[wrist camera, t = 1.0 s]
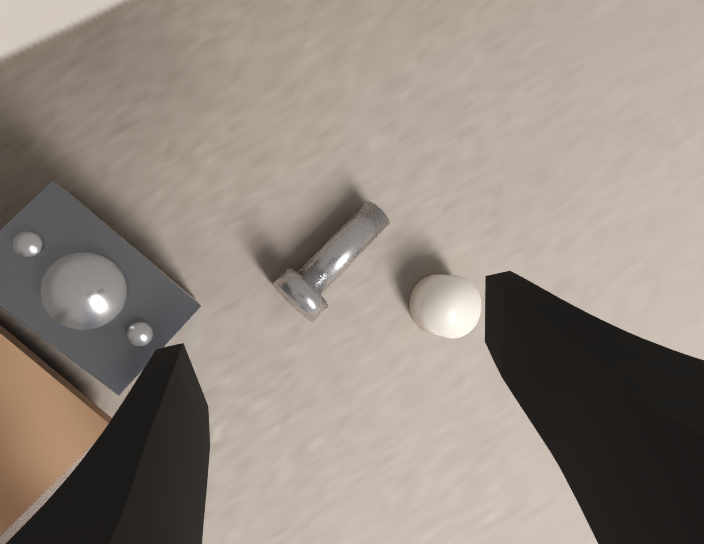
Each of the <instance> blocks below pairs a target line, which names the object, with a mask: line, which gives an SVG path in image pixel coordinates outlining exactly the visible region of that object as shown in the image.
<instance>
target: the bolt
mask: <svg viewBox="0 0 704 544" xmlns="http://www.w3.org/2000/svg"><path fill="white" fill-rule="evenodd" d="M388 225H389V219H388V217H387V216H386V214H385V213H384V212H383V211H382V210H381V209H380V208H379V207H378V206H377V205H375V204H374V203H372V202H366V203H365V204H364V205H363V206H362V207H361V208H360V209H359V210H358V211H357V212H356V213H355V214H354V215H353V216H352V217H351V218H350V219H349V220H348V221H347V222H346V223H345V224H344V225H343V226H342V227H341V228H340V229H339V230H338V231H337V232H336V233H335V234H334V235H333V236H332V237H331V238H330V239H329V240H328V241H327V242H326V243H325V244H324V245H323V246H322V247H321V248H320V249H319V250H318V251H317V252H316V253H315V254H314V255H313V256H312V257H311V258H310V259H309V260H308V261H307V262H306V263H305V264H304V265H303V266H302V267H301V268H300V269H299V270H298V271H297V272H296V271H294V270H293V269H291V268H288V269H287V270H286V271H285V272H284V273H283V274H282V275H281V276H280V277H279V278H278V279H277V280H276V281H275V282H274V283H273V285H274V286H275V288H276V289H277V290H278V291H279V293H280V294H281V295H282V296H283V297H284V298H285V299H286V300H287V301H288V302H289V303H290V304H291V305H292V306H293V307H294V308H295V309H296V310H297V311H299V312H300V313H301V314H302V315H303V316H304V317H306V318H307V319H308V320H310V321H311V322H314V321H315V320H316V319H317V318H318V317H319V315H320V314H321V313H322V312H323V311H324V310H325V309H326V308H327V307H328V304H327V302H326V301H325V300H324V298H323V297H322V296H321V294H322V293H323V292H324V291H325V290H326V289H327V288H328V287H329V286H330V285H331V284H332V283H333V282H334V281H335V280H336V279H337V278H338V277H339V276H340V275H341V274H342V273H343V272H344V271H345V270H346V268H347V267H348V266H349V265H350V264H351V263H352V262H353V261H354V260H355V259H356V258H357V257H358V256H359V255H360V254H361V253H362V252H363V251H364V250H365V249H366V248H367V247H368V246H369V245H370V244H371V243H372V242H373V241H374V239H375V238H376V237H377V236H378V235H379V234H380V233H381V232H382V231H383V230H384V229H385V228H386V227H387V226H388Z"/></svg>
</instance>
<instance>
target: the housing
mask: <svg viewBox="0 0 704 544" xmlns="http://www.w3.org/2000/svg"><path fill="white" fill-rule="evenodd" d="M0 306H1V307H2V308H3V309H5V310H6V311H7V312H9V313H10V314H11V315H13V316H14V317H15V318H17V319H18V320H19V321H21V322H22V323H23V324H25V325H26V326H27V327H29V328H30V329H31V330H33V331H34V332H35V333H37V334H38V335H39V336H41V337H42V338H43V339H45V340H46V341H47V342H49V343H50V344H51V345H53V346H54V347H55V348H56V349H58V350H59V351H60V352H62V353H63V354H64V355H66V356H67V357H68V358H70V359H71V360H72V361H74V362H75V363H76V364H78V365H79V366H80V367H82V368H83V369H84V370H86V371H87V372H88V373H90V374H91V375H92V376H94V377H95V378H96V379H98V380H99V381H100V382H102V383H103V384H104V385H106V386H107V387H108V388H110V389H111V390H112V391H114V392H115V393H116V394H118V395H120V394H121V393H122V392H123V390H124V389H125V388H126V387H127V386H128V385H129V384H130V383H131V382H132V381H133V380H134V379H135V377H136V376H137V375H138V374H139V373H140V372H141V371H142V370H143V369H144V368H145V366H146V364H147V363H148V361H149V360H150V358H151V356H152V355H153V353H154V352H155V350H156V349H159V348H163V347H164V346H165V345H166V344H167V343H168V341H169V340H170V339H171V338H172V337H173V336H174V335H175V334H176V333H177V332H178V331H179V330H180V328H181V327H182V326H183V325H184V324H185V323H186V322H187V321H188V320H189V319H190V318H191V316H192V315H193V314H194V313H195V312H196V311H197V310H198V309H199V308H200V307H201V305H200V304H199V303H198V301H197V300H196V299H195V298H194V297H193V296H191V295H190V294H189V293H188V292H187V291H185V290H184V289H183V288H182V287H181V286H180V285H178V284H177V283H176V282H175V281H174V280H173V279H171V278H170V277H169V276H168V275H167V274H165V273H164V272H163V271H162V270H161V269H160V268H158V267H157V266H156V265H155V264H154V263H153V262H151V261H150V260H149V259H148V258H147V257H145V256H144V255H143V254H142V253H141V252H140V251H138V250H137V249H136V248H135V247H134V246H132V245H131V244H130V243H129V242H128V241H127V240H125V239H124V238H123V237H122V236H121V235H120V234H118V233H117V232H116V231H115V230H114V229H112V228H111V227H110V226H109V225H108V224H107V223H105V222H104V221H103V220H102V219H101V218H100V217H98V216H97V215H96V214H95V213H94V212H92V211H91V210H90V209H89V208H88V207H87V206H85V205H84V204H83V203H82V202H81V201H79V200H78V199H77V198H76V197H75V196H74V195H72V194H71V193H70V192H69V191H67V190H66V189H64V188H63V187H62V186H60V185H59V184H57V183H56V182H55V181H52V182H51V183H50V184H49V185H47V186H46V187H45V188H44V189H43V190H42V191H41V192H40V193H39V194H38V195H37V196H36V197H35V198H34V199H33V200H32V201H30V202H29V203H28V204H27V205H26V206H25V207H24V208H23V209H22V210H21V211H20V212H19V213H18V214H17V215H16V216H15V217H14V218H12V219H11V220H10V221H9V222H8V223H7V224H6V225H5V226H4V227H3V228H2V229H1V230H0Z"/></svg>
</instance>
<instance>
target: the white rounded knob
mask: <svg viewBox="0 0 704 544" xmlns="http://www.w3.org/2000/svg"><path fill="white" fill-rule="evenodd" d="M409 309H410V314H411V317H412V319H413V321H414V322H415V324H416V325H417V326H418V327H419V328H420V329H422V330H424V331H425V332H428V333H432V334H436V335H439V336H443V337H446V338H458V337H462V336H464V335H466V334H467V333H469V332H470V331H471V330H472V329H473V328H474V326H475V325H476V323H477V322H478V319H479V317H480V313H481V299H480V295H479V292H478V290H477V288H476V287H475V286H474V284H473V283H472V282H471V281H469V280H468V279H466V278H464V277H462V276H457V275H439V274H435V275H429V276H427V277H425V278H423V279H422V280H420V281H419V282H418V283H417V284H416V286H415V287H414V289H413V291H412V293H411V296H410V300H409Z"/></svg>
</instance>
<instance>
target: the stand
mask: <svg viewBox="0 0 704 544" xmlns="http://www.w3.org/2000/svg"><path fill="white" fill-rule="evenodd" d="M111 419H112V418H111V417H110V416H109V415H107V414H106V413H105V412H104V411H103V410H101V409H100V408H99V407H98V406H97V405H95V404H94V403H93V402H92V401H91V400H89V399H88V398H87V397H86V396H85V395H83V394H82V393H81V392H80V391H79V390H77V389H76V388H75V387H74V386H73V385H71V384H70V383H69V382H68V381H67V380H66V379H64V378H63V377H62V376H61V375H60V374H58V373H57V372H56V371H55V370H54V369H52V368H51V367H50V366H49V365H48V364H46V363H45V362H44V361H43V360H42V359H40V358H39V357H38V356H37V355H36V354H34V353H33V352H32V351H31V350H30V349H28V348H27V347H26V346H25V345H24V344H22V343H21V342H20V341H19V340H18V339H16V338H15V337H14V336H13V335H12V334H10V333H9V332H8V331H7V330H6V329H4V328H3V327H2V326H1V325H0V536H1V535H2V534H3V533H4V532H5V531H6V530H7V529H8V528H9V527H10V526H11V525H12V524H13V523H14V522H15V521H16V520H17V519H18V518H19V517H20V516H21V515H22V514H23V513H24V512H25V511H26V510H27V509H28V508H29V507H30V506H31V505H32V504H33V503H34V502H35V501H36V500H37V499H38V498H39V497H40V496H41V495H42V494H43V493H44V492H45V491H46V490H47V489H48V488H49V487H50V486H51V485H52V484H53V483H54V482H55V481H56V480H57V479H58V478H59V477H60V476H61V475H62V474H63V473H64V472H65V471H66V470H67V469H68V468H69V467H70V466H71V465H72V464H73V463H74V462H75V461H76V460H77V459H78V458H79V457H80V456H81V455H82V454H83V453H84V452H85V451H87V450H88V449H89V448H90V447H91V446H92V445H93V444H94V443H95V442H96V440H97V439H98V438H99V436H100V435H101V434H102V432H103V431H104V429H105V428H106V427H107V425H108V424H109V422H110V421H111Z"/></svg>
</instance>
